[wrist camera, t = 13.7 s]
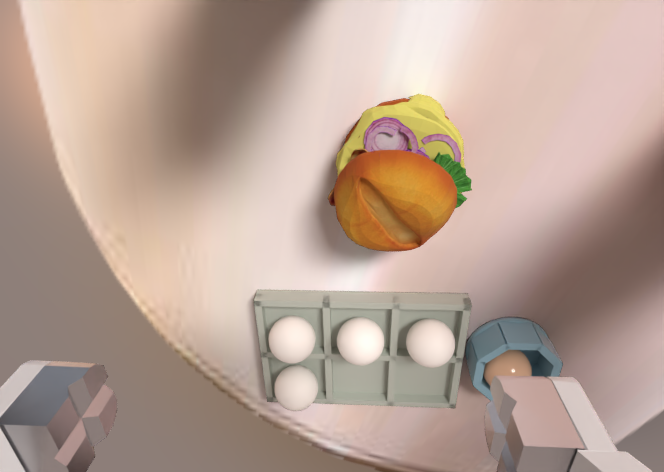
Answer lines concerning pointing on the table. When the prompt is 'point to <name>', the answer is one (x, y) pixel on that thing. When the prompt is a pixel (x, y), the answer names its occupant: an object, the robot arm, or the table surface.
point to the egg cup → (510, 348)
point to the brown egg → (507, 365)
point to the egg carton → (361, 347)
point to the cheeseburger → (399, 175)
